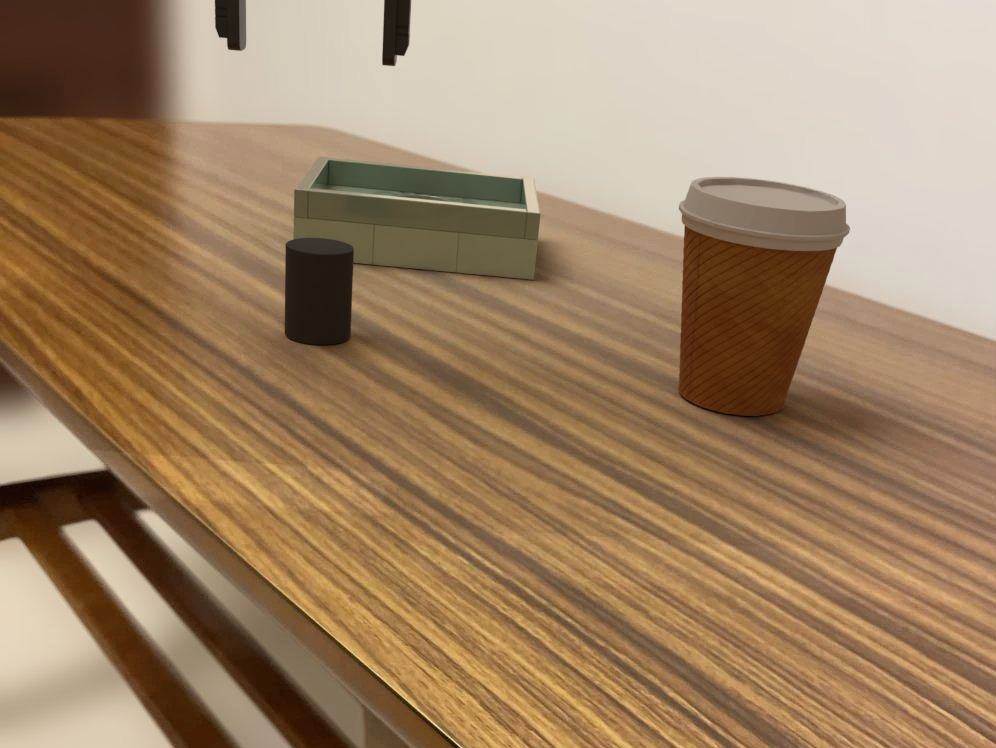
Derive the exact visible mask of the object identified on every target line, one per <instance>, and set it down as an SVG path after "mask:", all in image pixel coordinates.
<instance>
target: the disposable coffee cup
mask: <svg viewBox="0 0 996 748" xmlns="http://www.w3.org/2000/svg"><path fill="white" fill-rule="evenodd" d="M678 210H679V212H680V214H681V223H682V224H683V225H684V229H683V230H684V232H683V233H684V235H683V249H682V250H683V254H682V255H683V259H682V282H681V286H682V287H681V289H682V290H681V313H680V314H681V315H680V344H679V370H678V372H679V374H678V393H679V394H680V396H681V397H683V398H684V399H685V400H686V401H689V402H690V403H692V404H694V405H696V406H699V407H701V408H703V409H704V408H705V409H707V410H710V411H714V412H718V413H721V414H726V415H735V416H747V417H758V416H766V415H771V414H775V413H777V412H780V411H781V410H782V409H783V408H784V406H785V403H786V400H787V396H788V393H789V391H790V388H791V384H792V381H793V378H794V376H795V373H796V369H797V366H798V364H799V361H800V358H801V356H802V352H803V350H804V347H805V344H806V341H807V337H808V335H809V331H810V330H811V326H812V323H813V319H814V317H815V315H816V312H817V308H818V306H819V303H820V299H821V297H822V294H823V291H824V288H825V285H826V283H827V278H828V276H829V273H830V271H831V267H832V264H833V262H834V259H835V255H836V253H837V249H838V248H840V247H841V246H842V244H843V242H844V238H846V237H847V236H848V235H849V234H850V231H851V227H850V225H849V224H848V223H847V203H846V202H845V200H843V199H842V198H840V197H838V196H836V195H834V194H831V193H828V192H825V191H822V190H819V189H814V188H810V187H806V186H802V185H797V184H792V183H787V182H782V181H777V180H776V181H775V180H769V179H761V178H760V179H759V178H753V177H751V178H750V177H738V176H737V177H736V176H707V177H706V176H705V177H700V178H696V179H694V180H692V181H691V183H690V185H689V187H688V191H687V192H686V196H685V198H684V200H682V201H680V202H679V204H678Z"/></svg>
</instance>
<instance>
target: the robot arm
mask: <svg viewBox="0 0 996 748" xmlns="http://www.w3.org/2000/svg"><path fill="white" fill-rule="evenodd" d="M383 4H384V5H383V23H382V24H383V27H382V31H383V32H382V54H381V57H382V58H381V61H382V62H381V63H382V66H385V67H386V66H388V67H396V65H397V62H398V61H397V59H398V56H399V57H405V55H406V53H407V50H408V49H409V47H410V40H411V39H410V37H411V19H412V18H411V15H412V14H411V13H412V0H383ZM214 15H215V16H214V22H215V23H214V27H215V31H216V33H217V36H218V38H221V39H226V47H227V50H228V51H235V52H236V51H237V52H242V51H244V50H246V48H247V0H214Z"/></svg>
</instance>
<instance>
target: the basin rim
mask: <svg viewBox="0 0 996 748" xmlns="http://www.w3.org/2000/svg"><path fill="white" fill-rule="evenodd" d="M327 184H330V185H340V186H350V187H360V188H370V189H381V190H391V191H401V192H411V193H421V194H431V195H441V196H451V197H461V198H471V199H481V200H491V201H502V202H512V203H520V204H521V209H517V208H507V207H497V206H486V205H476V204H466V203H456V202H446V201H436V200H426V199H416V198H405V197H395V196H385V195H375V194H365V193H355V192H345V191H335V190H324V189H325V188H326V186H327ZM294 217H302V218H307V217H308V218H314V219H324V220H334V221H345V222H355V223H365V224H376V225H386V226H396V227H407V228H417V229H427V230H438V231H448V232H458V233H469V234H479V235H489V236H500V237H510V238H520V239H524V238H525V239H531V240H539V234H540V233H539V232H540V222H541V209H540V204H539V199H538V193H537V187H536V182H535V178H533V177H524V176H516V175H507V174H497V173H495V174H494V173H487V172H486V173H485V172H475V171H465V170H456V169H448V168H447V169H445V168H436V167H427V166H416V165H408V164H406V165H405V164H396V163H386V162H376V161H369V160H368V161H366V160H357V159H349V158H348V159H346V158H337V157H328V156H327V157H326V156H317V157H316V158H315V160H314V161H313V163H312V164H311V165H310V167H309V169H308V170H307V171H306V173H305V174H304V176H303V177H302V178H301V180H300V181H299V182H298V184H297V185H296V187H295V188H294V189H293V218H294Z"/></svg>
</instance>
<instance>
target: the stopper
mask: <svg viewBox="0 0 996 748" xmlns="http://www.w3.org/2000/svg"><path fill="white" fill-rule="evenodd" d="M353 257H354V248H353V247H352V246H351V245H350V244H347V243H345V242H342V241H338V240H333V239H325V238H299V239H290V240H288V241H286V243H285V260H284V261H285V263H284V266H285V267H284V271H285V272H284V335H285V336H286V338H288V339H290V340H292V341H295V342H298V343H302V344H307V345H318V346H328V345H338V344H342V343H345V342H347V341H349V339H350V338H351V334H352V333H351V332H352V308H353V307H352V306H353V305H352V304H353V284H354V283H353V279H354V263H353Z"/></svg>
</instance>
